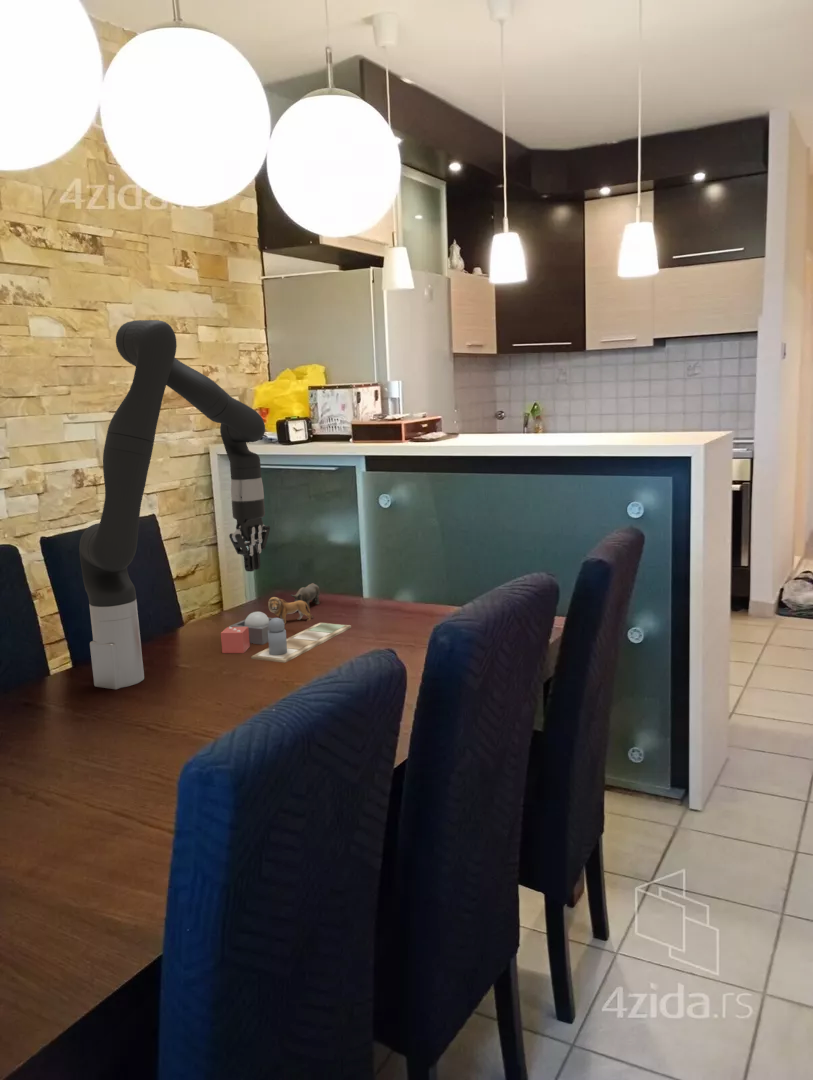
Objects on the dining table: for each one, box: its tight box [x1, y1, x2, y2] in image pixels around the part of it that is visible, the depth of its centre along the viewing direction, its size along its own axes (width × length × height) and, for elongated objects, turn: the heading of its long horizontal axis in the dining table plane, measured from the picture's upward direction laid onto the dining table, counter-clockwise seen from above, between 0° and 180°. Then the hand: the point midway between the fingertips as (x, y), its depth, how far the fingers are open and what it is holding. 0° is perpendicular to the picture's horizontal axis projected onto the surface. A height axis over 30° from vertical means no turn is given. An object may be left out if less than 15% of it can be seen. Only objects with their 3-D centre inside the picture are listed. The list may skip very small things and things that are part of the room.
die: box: [220, 626, 251, 654], centre depth 199 cm, size 5×5×5 cm
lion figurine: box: [267, 596, 315, 625], centre depth 222 cm, size 12×4×7 cm, turn 118°
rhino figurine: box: [290, 582, 321, 610], centre depth 236 cm, size 4×14×6 cm, turn 157°
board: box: [250, 622, 352, 664], centre depth 203 cm, size 29×9×1 cm, turn 154°
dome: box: [244, 611, 270, 628], centre depth 208 cm, size 6×6×6 cm
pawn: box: [267, 617, 287, 655], centre depth 193 cm, size 4×4×8 cm
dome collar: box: [229, 617, 286, 645], centre depth 208 cm, size 9×9×4 cm
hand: (252, 569), depth 206 cm, fingers closed
